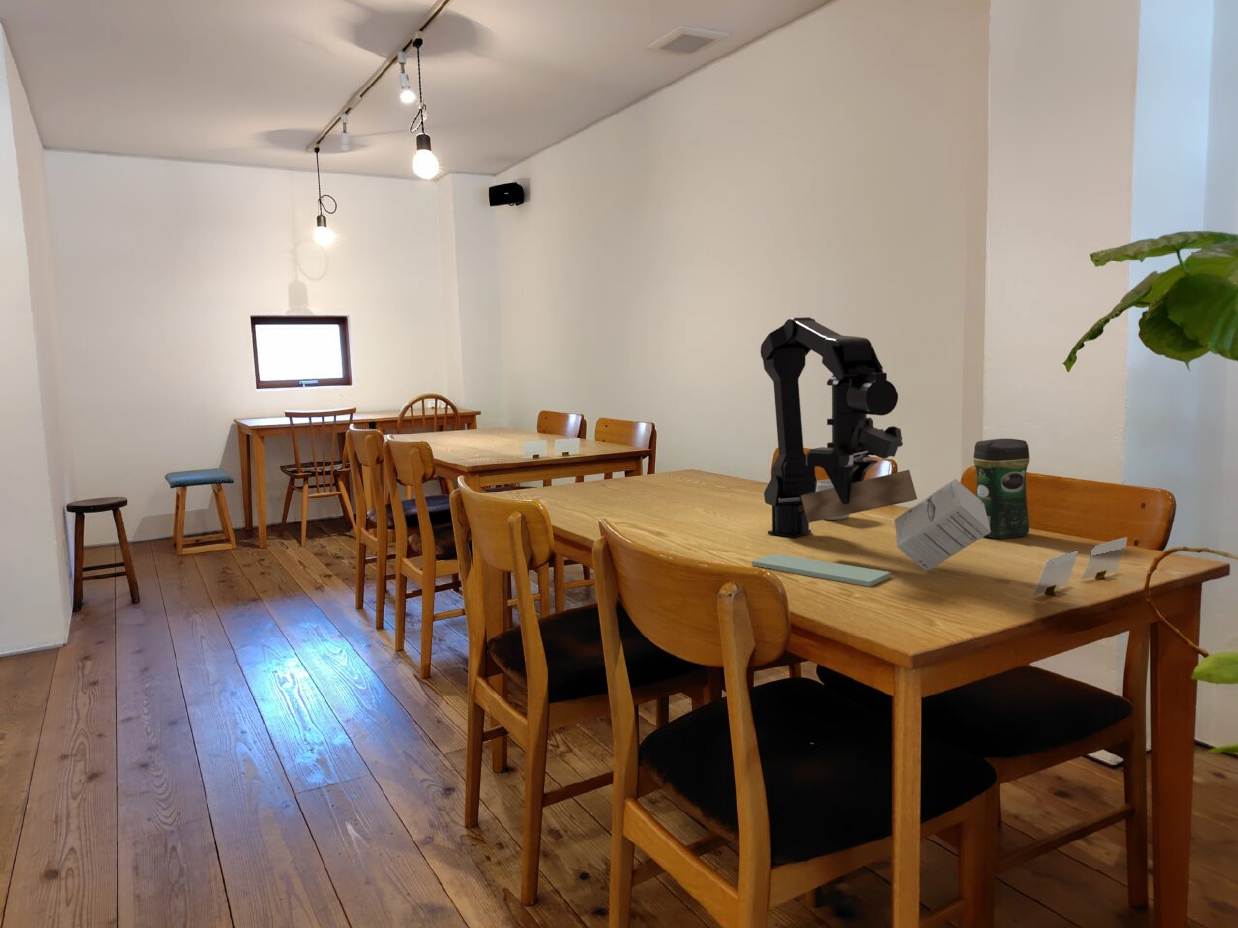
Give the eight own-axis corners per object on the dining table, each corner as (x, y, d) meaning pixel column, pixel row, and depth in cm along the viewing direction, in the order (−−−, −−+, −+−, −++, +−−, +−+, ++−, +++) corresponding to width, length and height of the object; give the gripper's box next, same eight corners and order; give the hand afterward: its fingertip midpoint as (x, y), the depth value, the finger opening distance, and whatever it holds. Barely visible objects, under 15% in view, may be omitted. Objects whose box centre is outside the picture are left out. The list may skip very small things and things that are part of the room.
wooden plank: (807, 522, 150) (800, 495, 150) (815, 520, 151) (808, 493, 152) (910, 501, 135) (902, 471, 136) (917, 499, 137) (909, 469, 138)
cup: (860, 523, 176) (860, 486, 175) (822, 525, 176) (822, 487, 175) (847, 514, 186) (847, 478, 185) (811, 515, 187) (811, 479, 186)
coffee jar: (1009, 529, 166) (1011, 435, 163) (1035, 537, 158) (1038, 439, 156) (964, 532, 164) (966, 438, 162) (989, 540, 156) (991, 442, 154)
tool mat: (751, 565, 144) (751, 561, 144) (774, 557, 149) (774, 553, 149) (869, 586, 129) (869, 581, 129) (890, 577, 134) (890, 572, 134)
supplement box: (892, 518, 140) (954, 476, 133) (922, 544, 142) (986, 503, 135) (895, 547, 134) (960, 504, 127) (926, 573, 136) (993, 532, 129)
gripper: (865, 417, 131) (865, 515, 132) (919, 409, 144) (918, 499, 146) (803, 416, 138) (804, 509, 140) (860, 408, 152) (860, 493, 153)
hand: (849, 502), depth 145 cm, fingers closed on wooden plank, 2 cm apart
